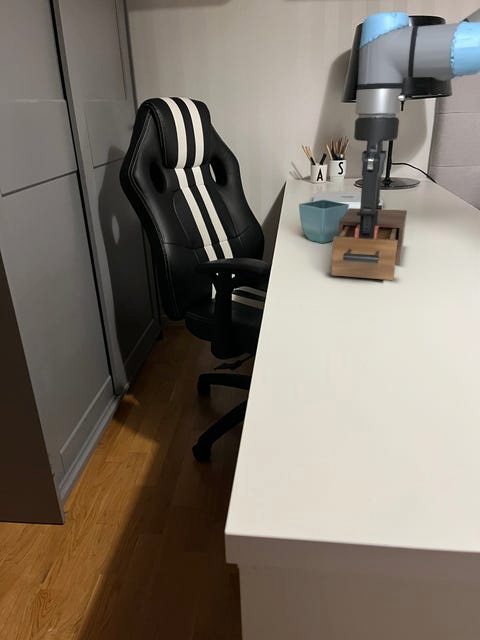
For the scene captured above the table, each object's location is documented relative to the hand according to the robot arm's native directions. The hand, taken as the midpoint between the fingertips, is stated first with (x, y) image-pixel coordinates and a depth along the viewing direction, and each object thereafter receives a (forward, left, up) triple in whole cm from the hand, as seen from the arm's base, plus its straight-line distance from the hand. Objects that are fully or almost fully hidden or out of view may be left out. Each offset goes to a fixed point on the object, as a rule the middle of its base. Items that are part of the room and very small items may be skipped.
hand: (366, 246), depth 97 cm
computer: (+14, -74, -6) cm, 76 cm away
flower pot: (+13, -24, -6) cm, 28 cm away
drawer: (0, +2, -5) cm, 5 cm away
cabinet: (0, -12, -6) cm, 13 cm away
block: (0, 0, 0) cm, 0 cm away
